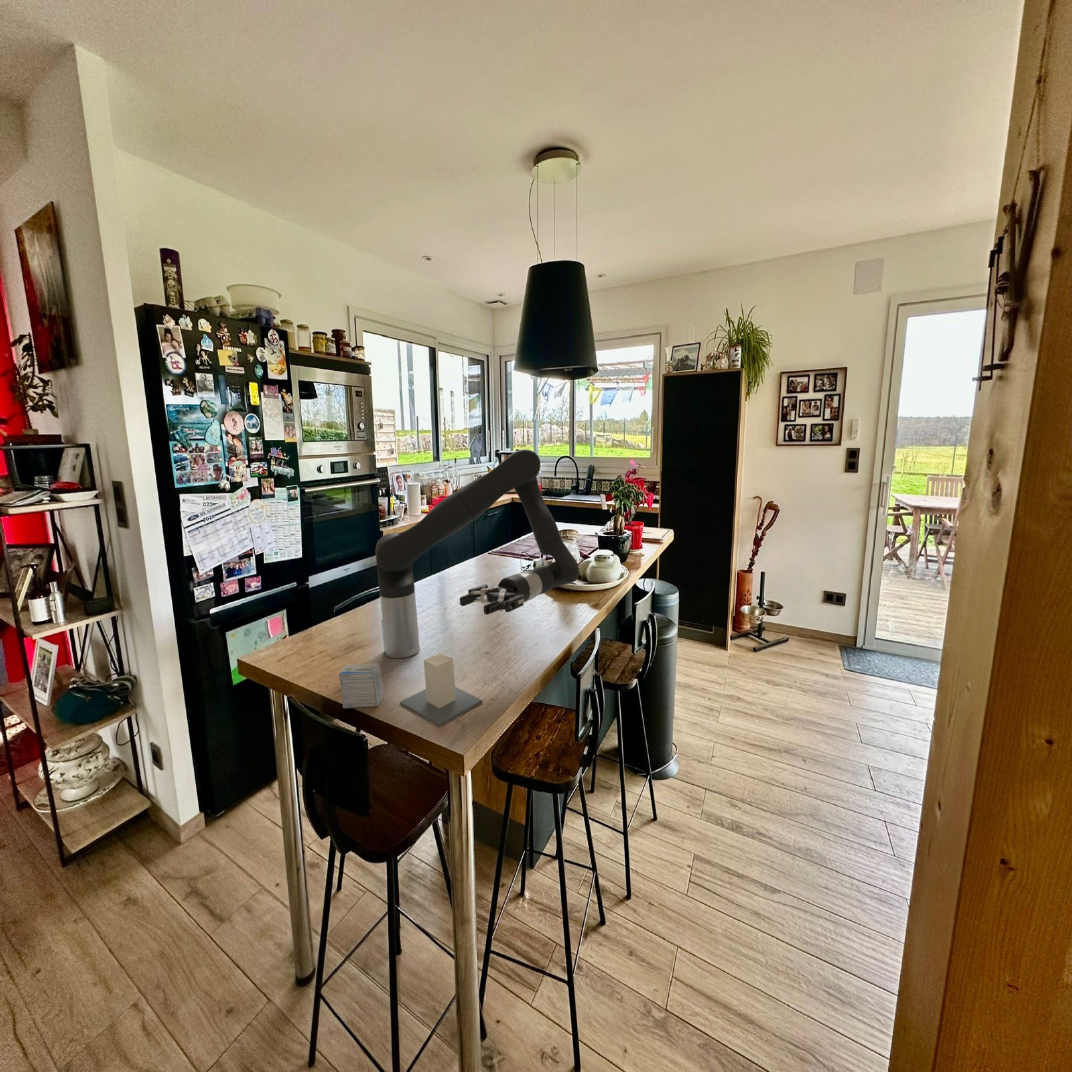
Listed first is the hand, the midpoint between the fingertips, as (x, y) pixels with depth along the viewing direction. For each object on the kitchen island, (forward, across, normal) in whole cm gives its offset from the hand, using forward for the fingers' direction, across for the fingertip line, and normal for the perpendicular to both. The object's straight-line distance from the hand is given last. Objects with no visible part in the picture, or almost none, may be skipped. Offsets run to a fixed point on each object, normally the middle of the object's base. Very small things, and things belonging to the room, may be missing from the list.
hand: (472, 606), depth 114 cm
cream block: (+11, +1, +19) cm, 22 cm away
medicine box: (+22, -13, +20) cm, 33 cm away
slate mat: (+11, +1, +20) cm, 22 cm away
